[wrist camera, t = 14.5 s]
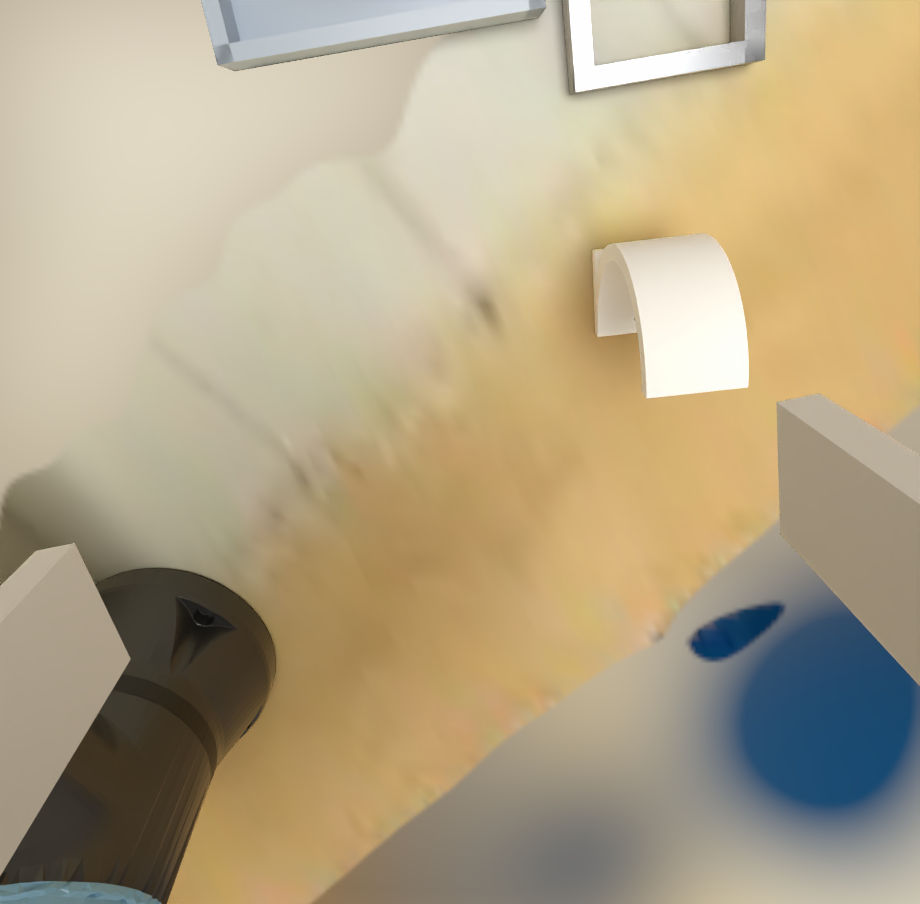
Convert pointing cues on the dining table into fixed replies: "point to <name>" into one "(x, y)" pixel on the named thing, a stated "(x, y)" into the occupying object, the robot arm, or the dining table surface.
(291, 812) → the dining table surface
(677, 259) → the white curved strip
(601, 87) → the socket collar
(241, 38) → the tray
